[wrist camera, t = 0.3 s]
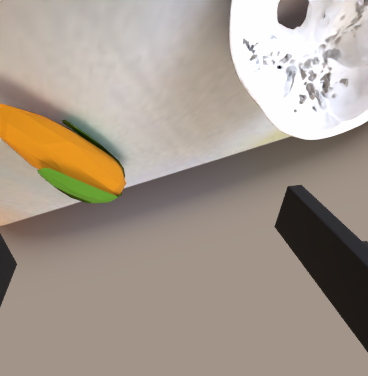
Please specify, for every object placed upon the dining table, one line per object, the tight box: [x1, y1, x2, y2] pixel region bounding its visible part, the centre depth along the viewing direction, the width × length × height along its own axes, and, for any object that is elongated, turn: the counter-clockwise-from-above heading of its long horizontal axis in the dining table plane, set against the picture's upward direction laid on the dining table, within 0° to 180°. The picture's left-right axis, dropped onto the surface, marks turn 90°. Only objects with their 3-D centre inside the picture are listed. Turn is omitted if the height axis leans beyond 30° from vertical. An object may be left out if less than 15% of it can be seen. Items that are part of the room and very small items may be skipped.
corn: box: [0, 103, 126, 203], centre depth 29 cm, size 7×8×20 cm
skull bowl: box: [229, 0, 368, 140], centre depth 20 cm, size 10×14×12 cm
